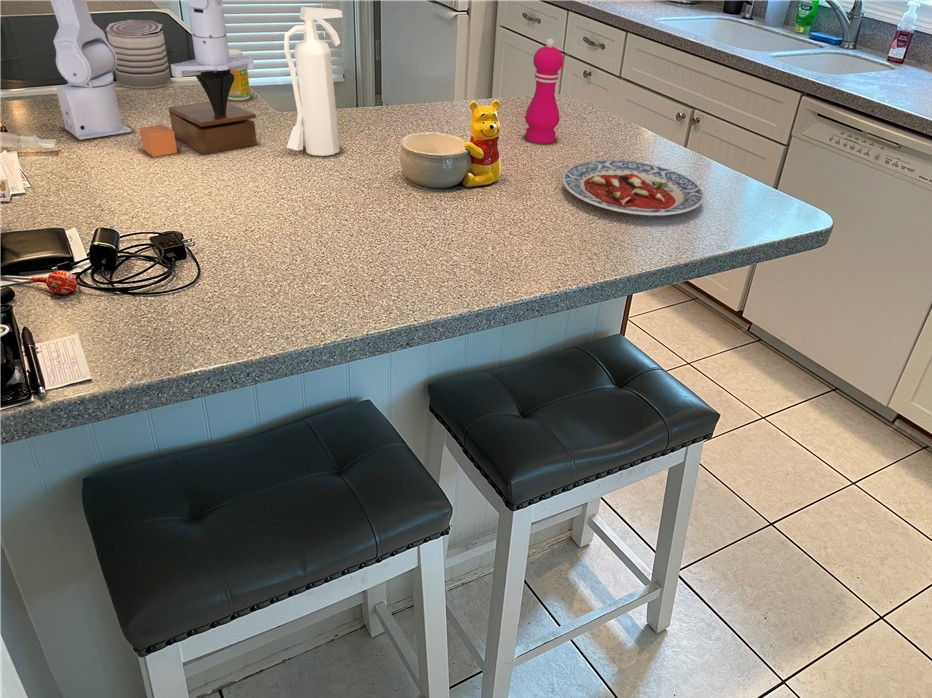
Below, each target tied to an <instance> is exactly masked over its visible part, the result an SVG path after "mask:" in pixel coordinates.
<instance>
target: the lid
mask: <svg viewBox="0 0 932 698" xmlns="http://www.w3.org/2000/svg"><path fill="white" fill-rule="evenodd" d="M167 109H168V112H172V113H174V114H176V115H178V116H180V117H182V118H184V119H187V120H189V121H191V122H193V123H195V124H197V125H199V126H202V127H204V126H210V125H216V124H223V123H229V122H235V121H241V120H248V119H250V120H253V119H257V114H256V113H255V112H252V111H250V110H247V109H245V108H242V107H240V106H237V105H235V104H232V103H230V102H228V101H227V107H226V115H220V116H219V115H217V114H215V113H214V111H213V108H212V105H211V103H210V100H209V101H203V102H196V103H189V104H180V105H174V106H168V108H167Z"/></svg>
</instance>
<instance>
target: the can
mask: <svg viewBox="0 0 932 698" xmlns="http://www.w3.org/2000/svg"><path fill="white" fill-rule="evenodd" d="M163 26H164V24H163V23H159V22H157V21H154V20H151V19H126V20H122V21H117V22H112V23H109V24H108V25H107V27H105V29H104V32H105V31H106V36H107V42H108V43H109V45H110V46H111V47H112V48H113V50H114V52H115V54H116V57H117V66H116V68H115V70H114V73H115V79H116V83H117V84H118V85H120V86H121V87H122V88H128V89H134V90H135V89H136V90H151V89H153V90H154V89H158V88H162V87H167V86H168V85H170V84H171V83H172V79H171V78H172V77H171V72H170V66H169V60H168V53H167V48H166V43H165V36H164V30H163V29H162V28H163Z"/></svg>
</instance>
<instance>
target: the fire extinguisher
mask: <svg viewBox="0 0 932 698" xmlns="http://www.w3.org/2000/svg"><path fill="white" fill-rule="evenodd" d="M339 18H343V11H342V10H340V9H338V8H325V7H309V6H301V7H300V13H299V19H300V20H302V21H303V24H300V25H294V26H293V27H292V28H290V29H289V30H288V31H286V32H285V33H284V37H283V38H284V39H283V41H284V42H283V52H284V55H285V58H286V63H287V65H288V68H289V72H290V76H291V77H290V78H291V83H292V91H293V95H294V100H295V105H296V111H297V117H296V123H295V125H294V126H293V127H292V130H291V133H290V136H289V139H288V142H287V144H286V148H287V149H290V150H294V151H303V149H304V147H305V152H306V153H307V154H309V155H311V156H318V157H319V156H321V157H325V156H331V155H335V154H337V153H340V150H341V149H340V139H339V130H338V118H337V106H336V96H335V95H336V94H335V86H334V75H333V65H332V53H331V48H330V46H329V44H328V42H326V41H324V40H322V39H320V37H319V33H318V30H317V25H316V22H317V23H318V24H320V25H321V26H322V28H323V29H324V30H325V31H326V32H327V34H328V36H329V38H330V40H331V42H332V45H333V46H335V47H338V46H339V45H340V44H341V41H340V37H339V35H338V32H337V31H336V30H335V28H334V27H332V25H331V24H330V23H328V22H327V21H326V19H339ZM324 19H325V20H324ZM315 21H316V22H315ZM298 32H300V33H301V32H303V39H301V40H299V41H298V42H296V43H295V47H294V61H295V64H294V61H293V58H292V55H291V52H290V51H291V49H290V43H291V42H290V38H291V37H292V36H294V35H295V34H296V33H298ZM304 145H305V146H304Z"/></svg>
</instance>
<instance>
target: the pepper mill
mask: <svg viewBox="0 0 932 698" xmlns="http://www.w3.org/2000/svg"><path fill="white" fill-rule="evenodd" d="M554 46H555V40H554V38H547V39H546V41H545V46H541V47H539V48H538V49H537V50H536V51H535V53H534V55H533V66H534V68H535V69H536V70H535V71H534V77H533V79H534V80H535V90H534V93H533V97H532V99H531V101H530V103H529V105H528V106H527V109H526V111H525V115H524V116H525V117H524V121H525V123H526V125H527V126H528V127H527V128H526V131H525V139H526V140H527V141H529V142H532V143H534V144H535V143H536V144H544V145H545V144H551V143H553V142H555V140H556V130H555V129H556V128H557V126H558V125H559V123H560V111H559V107H558V104H557V100H556V84H557V82H559V80H560V79H559V77H560V73H559V71H560V70H561V69H562V68H563V65H564V56H563V54H562V52H561V50H559V49H558V48H557V47H554Z"/></svg>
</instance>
